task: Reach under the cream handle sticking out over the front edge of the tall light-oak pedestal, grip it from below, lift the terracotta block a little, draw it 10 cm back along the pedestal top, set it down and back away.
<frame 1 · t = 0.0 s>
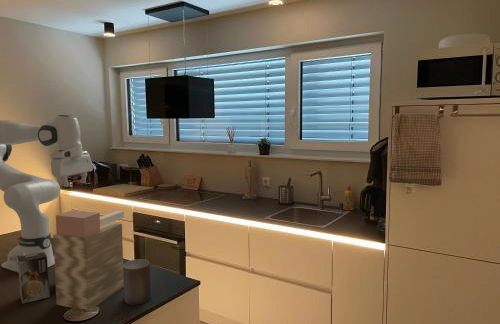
hand: (75, 184, 161), 39 cm above the counter, tool pointing down, fingers open, 8 cm apart
oak pedestal: (91, 295, 143), on the counter
handled block: (78, 233, 135), point 26 cm above the counter, touching oak pedestal
coffee box: (35, 298, 141), on the counter
pillar candle: (137, 299, 141), on the counter
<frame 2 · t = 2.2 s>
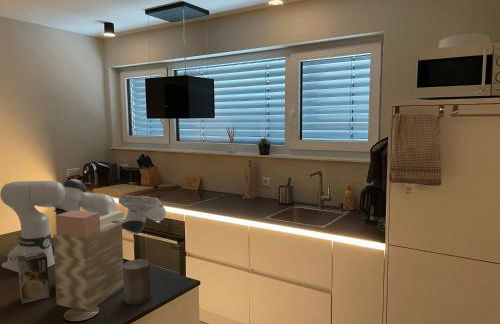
hand: (131, 196, 171), 32 cm above the counter, tool pointing upward, fingers open, 8 cm apart
nothing on the counter moved.
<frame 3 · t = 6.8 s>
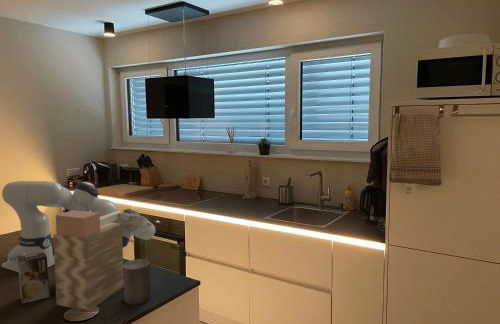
hand: (115, 214, 154), 28 cm above the counter, tool pointing upward, fingers closed on handled block, 3 cm apart
handled block: (78, 233, 135), point 26 cm above the counter, touching gripper, oak pedestal
everything else where it was.
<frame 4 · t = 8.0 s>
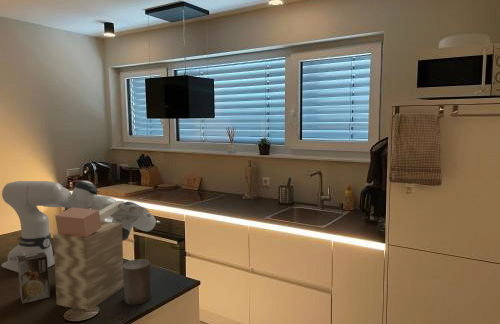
hand: (115, 205, 154), 32 cm above the counter, tool pointing upward, fingers closed on handled block, 3 cm apart
handled block: (80, 230, 135), point 27 cm above the counter, tilted 9°, touching gripper
everything else where it was.
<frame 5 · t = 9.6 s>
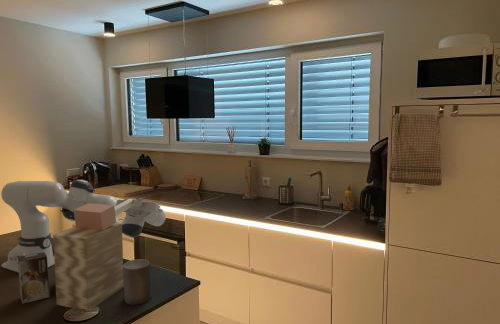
hand: (129, 200, 163), 32 cm above the counter, tool pointing upward, fingers closed on handled block, 3 cm apart
handled block: (96, 225, 144), point 27 cm above the counter, tilted 7°, touching gripper
everything else where it was.
when the fingers open (29 cm above the counter, at t = 10.7 s): handled block stays where it is, resting on oak pedestal.
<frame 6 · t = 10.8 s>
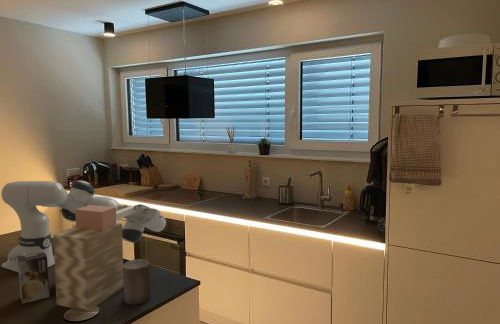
hand: (129, 207, 164), 29 cm above the counter, tool pointing upward, fingers open, 4 cm apart
handled block: (96, 226, 144), point 26 cm above the counter, touching oak pedestal
everything else where it was.
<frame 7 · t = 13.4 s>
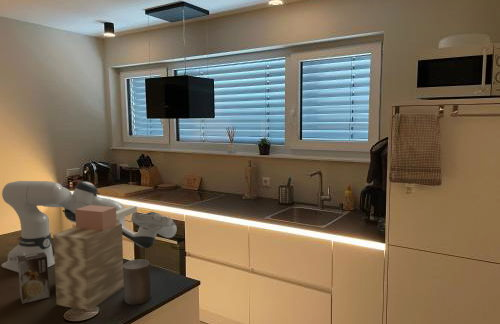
hand: (144, 215, 175), 22 cm above the counter, tool pointing upward, fingers open, 8 cm apart
nothing on the counter moved.
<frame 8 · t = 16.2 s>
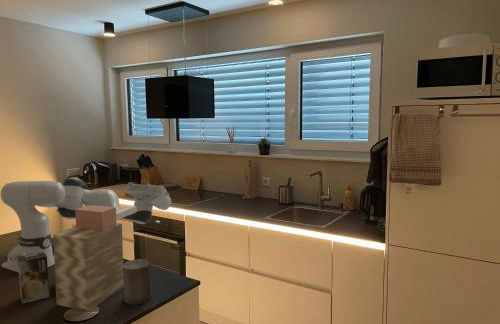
hand: (138, 184, 176), 36 cm above the counter, tool pointing upward, fingers open, 8 cm apart
nothing on the counter moved.
at the end: handled block moved 9.3 cm from its start; handled block inside the target area (0.2 cm from its centre), point 26.0 cm above the counter; the gripper is holding nothing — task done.
